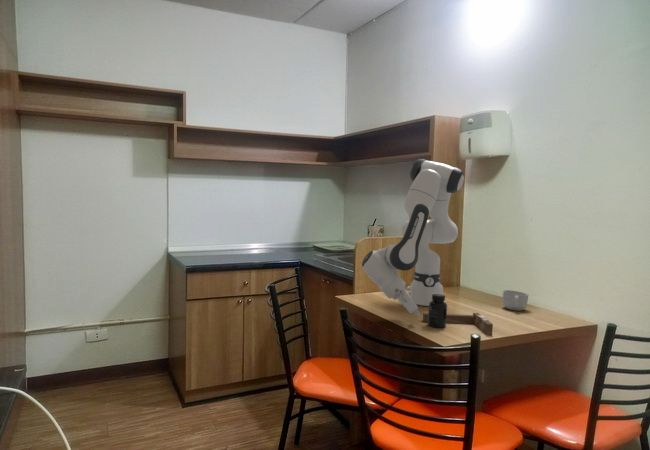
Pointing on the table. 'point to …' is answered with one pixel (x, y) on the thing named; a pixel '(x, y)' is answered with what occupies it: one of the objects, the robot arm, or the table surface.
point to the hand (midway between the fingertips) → (418, 313)
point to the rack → (468, 321)
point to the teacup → (514, 300)
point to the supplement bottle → (437, 311)
